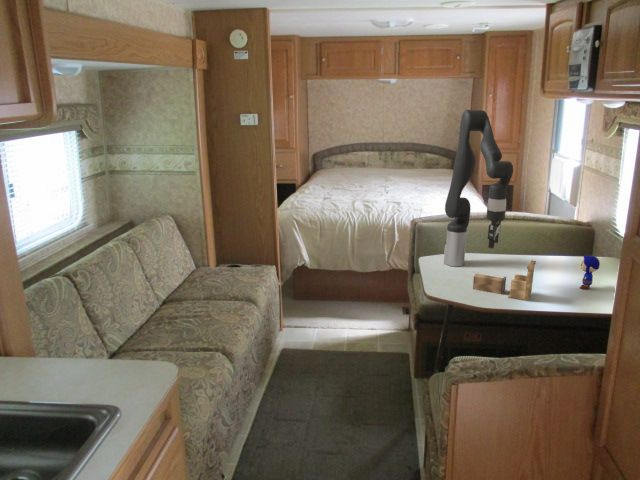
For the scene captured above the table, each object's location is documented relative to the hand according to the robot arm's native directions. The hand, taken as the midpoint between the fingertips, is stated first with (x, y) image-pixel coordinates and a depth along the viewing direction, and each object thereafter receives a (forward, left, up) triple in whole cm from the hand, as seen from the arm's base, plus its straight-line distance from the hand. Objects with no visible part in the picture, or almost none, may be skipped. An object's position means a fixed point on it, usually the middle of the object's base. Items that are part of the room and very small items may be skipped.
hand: (493, 245), depth 234 cm
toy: (+37, +20, -20) cm, 46 cm away
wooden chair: (+13, -3, -19) cm, 24 cm away
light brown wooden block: (0, -3, -20) cm, 20 cm away
